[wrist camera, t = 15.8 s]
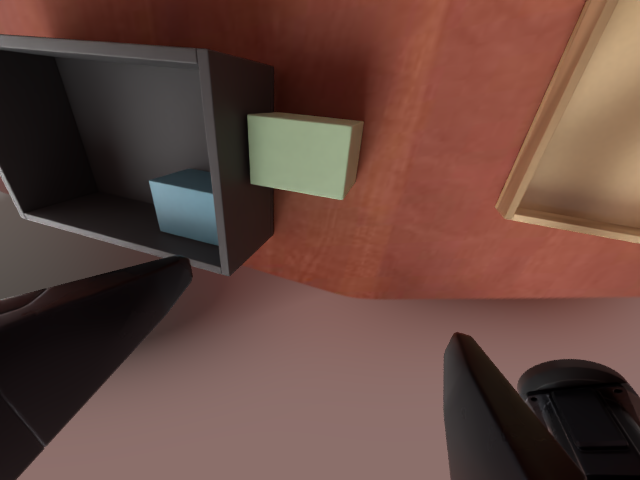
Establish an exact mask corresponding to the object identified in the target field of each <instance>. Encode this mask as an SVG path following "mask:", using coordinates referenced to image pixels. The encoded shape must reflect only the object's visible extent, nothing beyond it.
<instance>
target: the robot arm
mask: <svg viewBox="0 0 640 480" xmlns="http://www.w3.org/2000/svg"><path fill="white" fill-rule="evenodd" d="M192 277H193V275H192V269H191V264H190V260H189V258H187V257H184V256H181V255H174V256H171V257H167V258H163V259H159V260H155V261H151V262H147V263H143V264H139V265H136V266H132V267H128V268H124V269H120V270H116V271H112V272H108V273H104V274H100V275H96V276H92V277H89V278H85V279H81V280H77V281H73V282H69V283H65V284H61V285H58V286H54V287H50V288H48V289H42V290H38V291H34V292H30V293H26V294H22V295H18V296H14V297H10V298H6V299H1V300H0V480H16V479H17V478H18V477H19V476H20V475H21V474H22V473H23V472H24V470H26V468H27V467H28V466H29V465H30V464H31V463H32V462H33V461H34V460H35V458H36V457H37V456H38V455H39V454H40V453H41V452H42V451H43V450H44V447H46V446H47V445H48V444H49V443H50V442H51V441H52V439H54V437H55V436H56V435H57V434H58V433H59V432H60V431H61V430H62V429H63V427H64V426H65V425H66V424H67V423H68V422H69V421H70V420H71V419H72V418H73V417H74V416H75V414H76V413H77V412H78V411H79V410H80V409H81V408H82V407H83V406H84V405H85V403H86V402H87V401H88V400H89V399H90V398H91V397H92V396H93V395H94V394H95V392H96V391H97V390H98V389H99V388H100V387H101V386H102V385H103V384H104V383H105V382H106V380H107V379H108V378H109V377H110V376H111V375H112V374H113V373H114V372H115V371H116V369H117V368H118V367H119V366H120V365H121V364H122V363H123V362H124V360H126V359H127V357H128V356H129V355H130V354H131V353H132V352H133V351H134V350H135V349H136V348H137V346H138V345H139V344H140V343H141V342H142V341H143V340H144V339H145V338H146V337H147V336H148V334H149V333H150V332H151V331H152V330H153V329H154V328H155V327H156V326H157V325H158V323H159V322H160V321H161V320H162V319H163V318H164V317H165V316H166V314H167V313H168V312H169V310H170V309H171V308H172V307H173V305H174V304H175V303H176V301H177V300H178V299H179V297H180V296H181V295H182V293H183V292H184V291H185V289H186V288H187V287H188V285H189V284H190V283H191V281H192ZM526 397H527V400H528V402H529V403H530V405H531V407H532V409H533V411H534V412H535V413H534V412H533V411H532V410H531V408H530V407H529V406H528V405H527V404H526V402H525V401H524V400H523V399H522V397H521V396H520V395H519V394H518V393H517V391H516V390H515V389H514V388H513V387H512V385H511V384H510V383H509V382H508V380H507V379H506V378H505V377H504V376H503V374H502V373H501V372H500V371H499V369H498V368H497V367H496V366H495V365H494V363H493V362H492V361H491V360H490V358H489V357H488V356H487V355H486V354H485V352H484V351H483V350H482V349H481V347H480V346H479V345H478V344H477V343H476V341H475V340H474V339H473V338H472V337H471V336H469V335H466V334H462V333H459V332H456V333H454V334H453V336H452V338H451V340H450V342H449V344H448V346H447V348H446V350H445V354H444V421H445V431H446V440H447V450H448V459H449V468H450V477H451V480H640V421H639V418H638V416H637V414H636V411H635V409H634V407H633V404H632V402H631V400H630V397H629V395H628V393H627V390H626V389H625V388H624V386H623V385H622V384H621V383H618V382H609V383H600V384H591V385H582V386H572V387H563V388H554V389H545V390H536V391H529V392H527V393H526ZM535 414H536V415H535Z"/></svg>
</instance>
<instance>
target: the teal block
mask: <svg viewBox="0 0 640 480" xmlns="http://www.w3.org/2000/svg"><path fill="white" fill-rule="evenodd" d="M149 184H150V188H151V193H152V197H153V201H154V206H155V210H156V214H157V219H158V223H159V227H160V231H162V232H166V233H170V234H174V235H178V236H182V237H186V238H190V239H194V240H197V241H201V242H205V243H209V244H213V245H217V246H219V244H218V235H217V226H216V217H215V209H214V200H213V191H212V182H211V173H210V172H206V171H201V170H196V169H190V168H189V169H186V170H182V171H179V172H175V173H172V174H169V175H165V176H162V177H158V178H155V179H152V180H149Z"/></svg>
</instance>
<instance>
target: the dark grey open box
mask: <svg viewBox="0 0 640 480" xmlns="http://www.w3.org/2000/svg"><path fill="white" fill-rule="evenodd" d="M272 112H274V67H273V66H270V65H266V64H263V63H259V62H255V61H251V60H248V59H244V58H240V57H236V56H233V55H229V54H225V53H221V52H218V51H214V50H210V49H204V48H189V47H175V46H161V45H147V44H133V43H118V42H104V41H90V40H76V39H62V38H48V37H33V36H19V35H5V34H0V176H1V178H2V180H3V182H4V184H5V186H6V188H7V190H8V192H9V194H10V196H11V198H12V199H13V202H14V204H15V206H16V208H17V210H18V212H19V214H20V215H21V217H22V218H24V219H27V220H30V221H34V222H38V223H41V224H45V225H48V226H52V227H56V228H59V229H62V230H66V231H70V232H73V233H77V234H80V235H84V236H88V237H91V238H94V239H98V240H102V241H105V242H109V243H112V244H116V245H120V246H123V247H127V248H130V249H134V250H137V251H141V252H144V253H148V254H152V255H155V256H158V257H162V258H167V257H171V256H174V255H181V256H184V257H187V258H189V260H190V264H191V266H194V267H198V268H201V269H205V270H208V271H212V272H215V273H219V274H223V275H226V276H230V275H231V274H232V273H234V272H235V271H236V270H237V269H238V268H239V267H240V266H241V265H242V264H243V263H244V262H245V261H246V260H247V259H248V258H249V257H250V256H251V255H252V254H253V253H255V252H256V251H257V250H258V249H259V248H260V247H261V246H262V245H263V244H264V243H265V242H266V241H267V240H268V239H269V238H270V237H271V236H272V235H273V188H271V187H266V186H260V185H254V184H251V181H250V161H249V141H248V121H247V115H248V114H257V113H272ZM189 168H190V169H196V170H201V171H206V172H210V173H211V182H212V191H213V200H214V209H215V217H216V226H217V235H218V244H219V246H217V245H213V244H209V243H205V242H201V241H197V240H194V239H190V238H186V237H182V236H178V235H174V234H170V233H166V232H162V231H160V227H159V223H158V219H157V214H156V210H155V206H154V201H153V197H152V193H151V188H150V184H149V180H152V179H155V178H158V177H162V176H165V175H169V174H172V173H175V172H179V171H182V170H186V169H189Z"/></svg>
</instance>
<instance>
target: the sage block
mask: <svg viewBox="0 0 640 480" xmlns="http://www.w3.org/2000/svg"><path fill="white" fill-rule="evenodd" d="M247 121H248V141H249V161H250V181H251V184H254V185H260V186H266V187H271V188H277V189H283V190H288V191H294V192H299V193H305V194H311V195H316V196H322V197H328V198H333V199H339V200H343V199H344V198H345V196H346V195H347V193H348V192H349V191H350V189H351V188H352V186H353V185H354V183H355V181H356V174H357V167H358V160H359V153H360V147H361V140H362V133H363V126H364V122H363V121H357V120H347V119H338V118H329V117H319V116H310V115H300V114H291V113H282V112H272V113H257V114H248V115H247Z"/></svg>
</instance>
